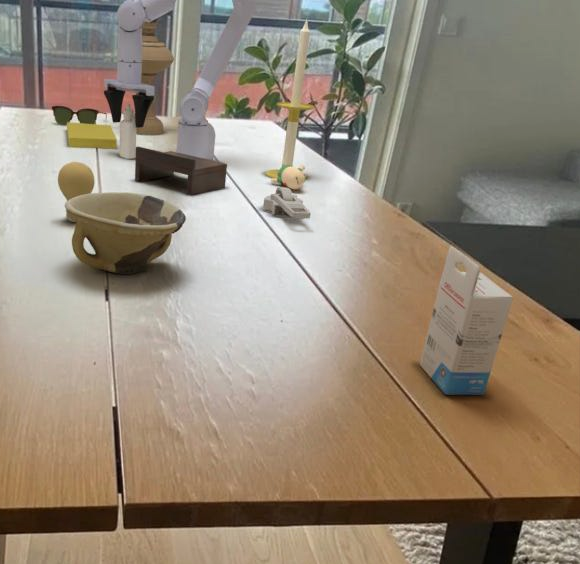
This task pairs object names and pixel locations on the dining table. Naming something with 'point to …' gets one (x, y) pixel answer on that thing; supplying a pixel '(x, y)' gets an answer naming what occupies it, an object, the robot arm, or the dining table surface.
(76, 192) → the light bulb
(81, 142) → the flat olive board
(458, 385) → the ink box
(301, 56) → the candle
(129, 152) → the eye dropper bottle
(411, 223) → the dining table surface
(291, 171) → the toy figurine
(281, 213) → the zipper pull
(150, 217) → the bowl
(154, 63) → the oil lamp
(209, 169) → the shelf
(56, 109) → the sunglasses
